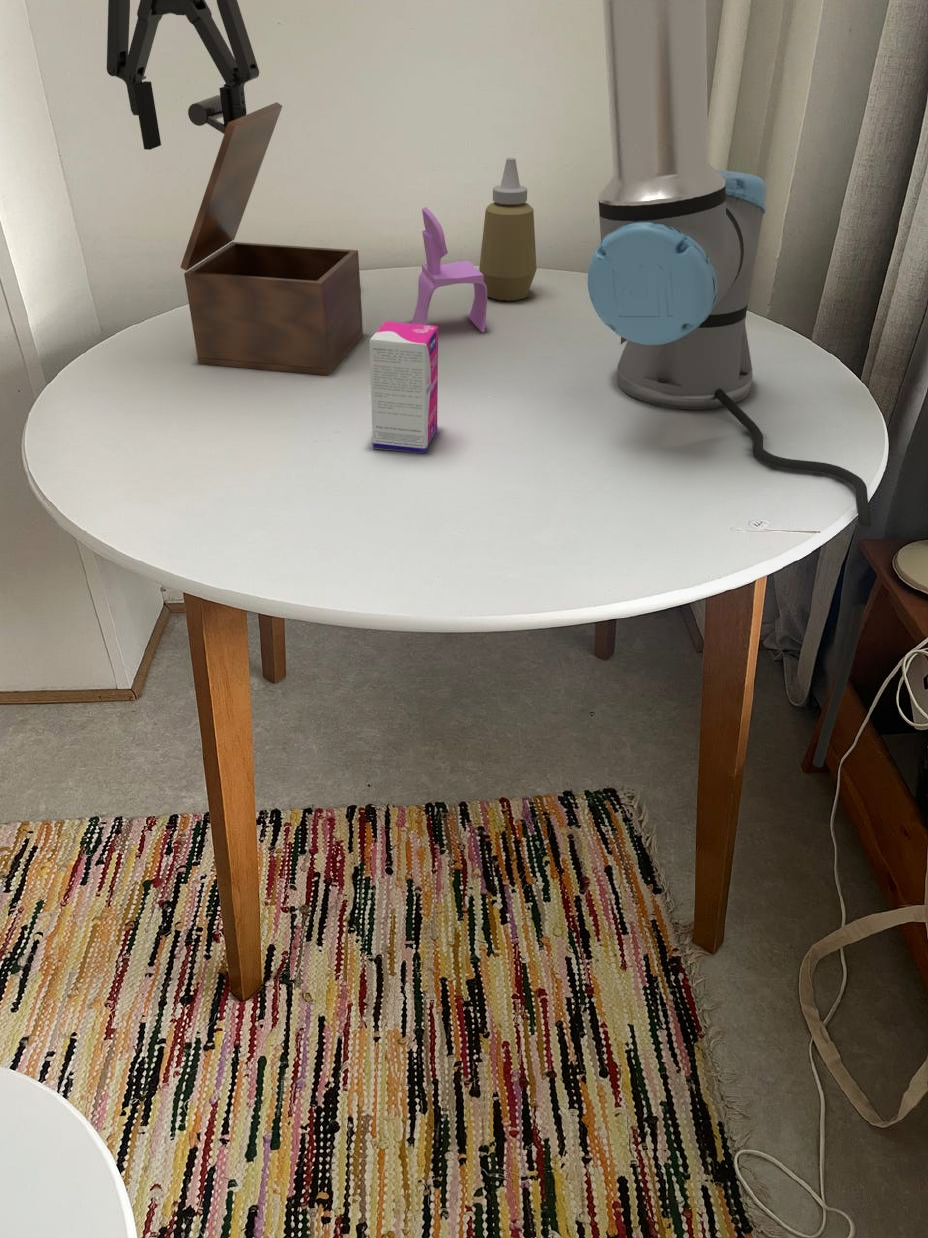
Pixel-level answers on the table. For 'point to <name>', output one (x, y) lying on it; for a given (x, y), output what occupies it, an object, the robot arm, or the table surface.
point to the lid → (228, 175)
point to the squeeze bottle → (508, 239)
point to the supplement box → (404, 386)
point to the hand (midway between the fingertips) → (193, 149)
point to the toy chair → (446, 275)
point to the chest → (276, 307)
